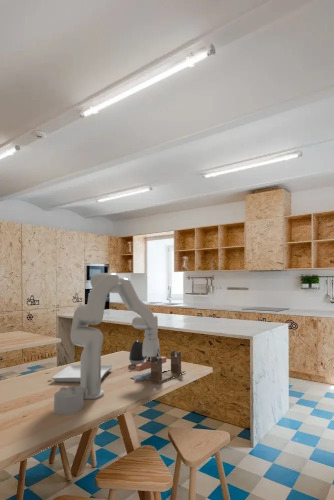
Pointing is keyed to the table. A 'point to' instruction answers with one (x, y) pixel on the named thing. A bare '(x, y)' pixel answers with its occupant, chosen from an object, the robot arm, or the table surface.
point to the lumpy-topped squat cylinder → (68, 400)
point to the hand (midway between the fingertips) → (151, 368)
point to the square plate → (76, 373)
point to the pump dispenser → (136, 353)
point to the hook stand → (175, 371)
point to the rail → (147, 365)
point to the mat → (142, 376)
